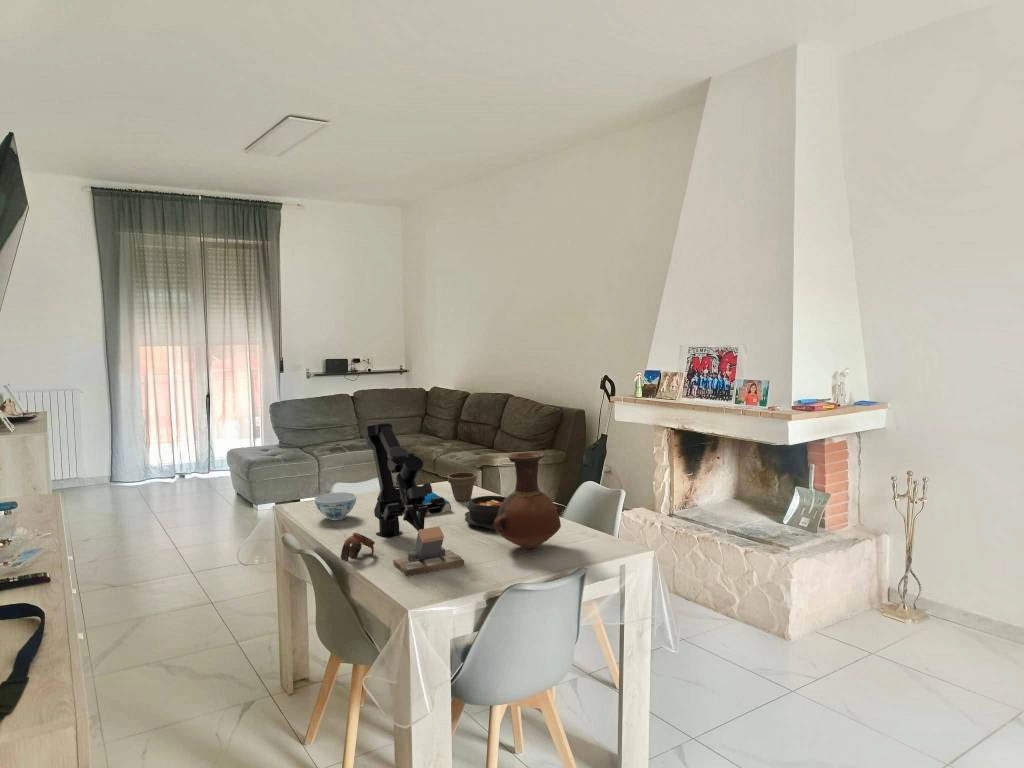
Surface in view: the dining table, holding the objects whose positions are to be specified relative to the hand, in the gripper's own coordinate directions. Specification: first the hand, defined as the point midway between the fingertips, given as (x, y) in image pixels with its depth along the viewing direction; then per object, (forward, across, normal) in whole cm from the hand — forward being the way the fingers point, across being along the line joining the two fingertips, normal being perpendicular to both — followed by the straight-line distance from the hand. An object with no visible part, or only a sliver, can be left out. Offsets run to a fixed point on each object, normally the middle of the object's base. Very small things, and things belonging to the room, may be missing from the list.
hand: (422, 533), depth 210 cm
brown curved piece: (-3, -16, +16) cm, 23 cm away
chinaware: (-36, -10, +49) cm, 62 cm away
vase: (+11, +33, +2) cm, 35 cm away
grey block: (+6, 0, +3) cm, 7 cm away
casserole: (-10, +35, +23) cm, 44 cm away
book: (-34, +22, +49) cm, 64 cm away
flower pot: (-35, +41, +49) cm, 73 cm away
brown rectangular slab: (+9, 0, +3) cm, 10 cm away
